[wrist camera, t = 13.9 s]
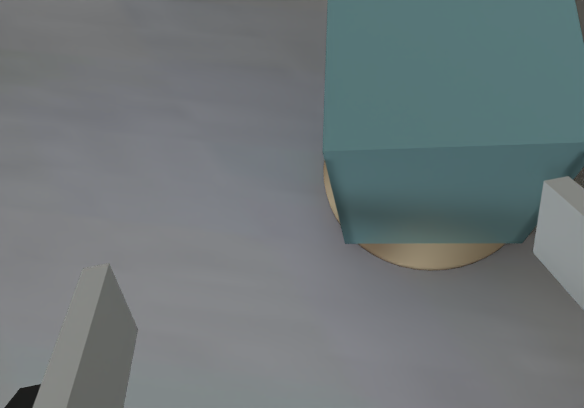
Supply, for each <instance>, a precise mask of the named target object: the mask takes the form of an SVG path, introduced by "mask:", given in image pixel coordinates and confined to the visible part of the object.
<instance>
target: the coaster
mask: <svg viewBox="0 0 584 408" xmlns="http://www.w3.org/2000/svg"><path fill="white" fill-rule="evenodd" d="M324 183H325V189H326V194H327V197H328V200H329V203H330V206H331V209H332V211H333V213H334V215H335V217H336V219H337V220H338V222H339V223H340V220H339V216H338V212H337V208H336V204H335V200H334V196H333V192H332V188H331V184H330V179H329V175H328V171H327V167H326V163H325V161H324ZM340 225H341V224H340ZM505 244H506V243H409V244H358V245H360V246H361V247H362V248H363V249H365V250H366V251H368V252H370V253H371V254H373V255H374V256H376V257H378V258H380V259H382V260H384V261H386V262H389V263H392V264H395V265H398V266H401V267H406V268H411V269H417V270H429V271H430V270H447V269H453V268H459V267H462V266H466V265H469V264H472V263H475V262H477V261H479V260H482V259H484V258H486V257H488V256H489V255H491V254H492V253H494V252H496V251H497V250H499V249H500V248H501V247H502V246H504V245H505Z"/></svg>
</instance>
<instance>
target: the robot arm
mask: <svg viewBox="0 0 584 408" xmlns="http://www.w3.org/2000/svg"><path fill="white" fill-rule="evenodd" d="M533 253H534V254H535V255H536V257H537V258H538V259H539V260H540V261H541V262H542V263H543V265H544V266H545V267H546V268H547V269H548V270H549V271H550V273H551V274H552V275H553V276H554V277H555V278H556V279H557V281H558V282H559V283H560V284H561V285H562V286H563V287H564V289H565V290H566V291H567V292H568V293H569V294H570V295H571V297H572V298H573V299H574V300H575V301H576V302H577V303H578V304H579V306H580V307H581V308H582V309H583V310H584V188H583V187H581V186H580V185H579V184H578V183H576V182H575V181H574V180H573V179H571V178H570V177H569V176H566V177H561V178H556V179H550V180H545V181H544V182H543V189H542V195H541V202H540V209H539V215H538V222H537V228H536V235H535V242H534V248H533ZM137 332H138V328H137V326H136V324H135V321H134V319H133V317H132V314H131V312H130V310H129V308H128V305H127V303H126V301H125V299H124V296H123V294H122V292H121V289H120V287H119V285H118V283H117V280H116V278H115V276H114V273H113V271H112V269H111V267H110V264H109V263H108V264H103V265H98V266H93V267H87V268H83V270H82V272H81V275H80V278H79V281H78V284H77V286H76V289H75V292H74V295H73V297H72V300H71V303H70V306H69V308H68V311H67V314H66V317H65V319H64V322H63V325H62V328H61V331H60V333H59V336H58V339H57V342H56V344H55V347H54V350H53V353H52V355H51V358H50V361H49V364H48V367H47V369H46V372H45V375H44V378H43V380H42V383H41V384H40V385H34V386H29V387H24V388H20V389H19V390H18V392H17V393H16V394H15V395H14V397H13V398H12V399H11V400H10V402H9V403H8V404H7V405H6V407H5V408H124V402H125V397H126V391H127V386H128V380H129V375H130V370H131V364H132V359H133V353H134V348H135V343H136V337H137Z"/></svg>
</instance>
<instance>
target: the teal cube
mask: <svg viewBox="0 0 584 408" xmlns="http://www.w3.org/2000/svg"><path fill="white" fill-rule="evenodd" d="M323 155H324V159H325V163H326V167H327V171H328V175H329V179H330V184H331V188H332V192H333V196H334V200H335V204H336V208H337V212H338V216H339V220H340V224H341V228H342V232H343V236H344V241H345V244H409V243H523V241H524V240H525V239H526V238H527V236H528V235H529V234H530V233H531V231H532V230H533V229H534V228H535V226H536V225H537V222H538V215H539V209H540V202H541V195H542V189H543V182H544V181H545V180H550V179H556V178H561V177H566V176H569V177H570V178H571V179H574V178H575V177H576V176H577V174H578V173H579V172H580V171H581V169H582V168H583V167H584V42H583V37H582V32H581V27H580V23H579V18H578V13H577V8H576V3H575V0H328V8H327V38H326V67H325V96H324V126H323Z"/></svg>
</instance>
